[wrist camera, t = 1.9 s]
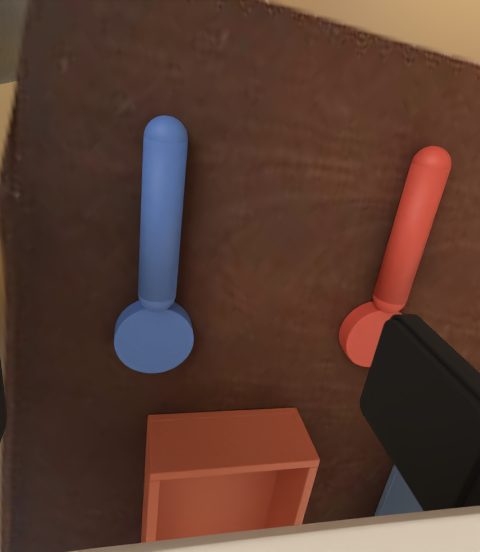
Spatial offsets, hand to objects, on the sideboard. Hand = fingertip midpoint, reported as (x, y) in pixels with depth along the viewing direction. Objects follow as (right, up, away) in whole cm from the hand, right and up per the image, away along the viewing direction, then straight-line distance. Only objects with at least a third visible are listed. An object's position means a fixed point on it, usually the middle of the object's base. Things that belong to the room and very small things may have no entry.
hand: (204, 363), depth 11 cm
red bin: (-1, -15, +22) cm, 27 cm away
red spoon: (+10, +3, +16) cm, 19 cm away
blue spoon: (-4, +3, +13) cm, 14 cm away
